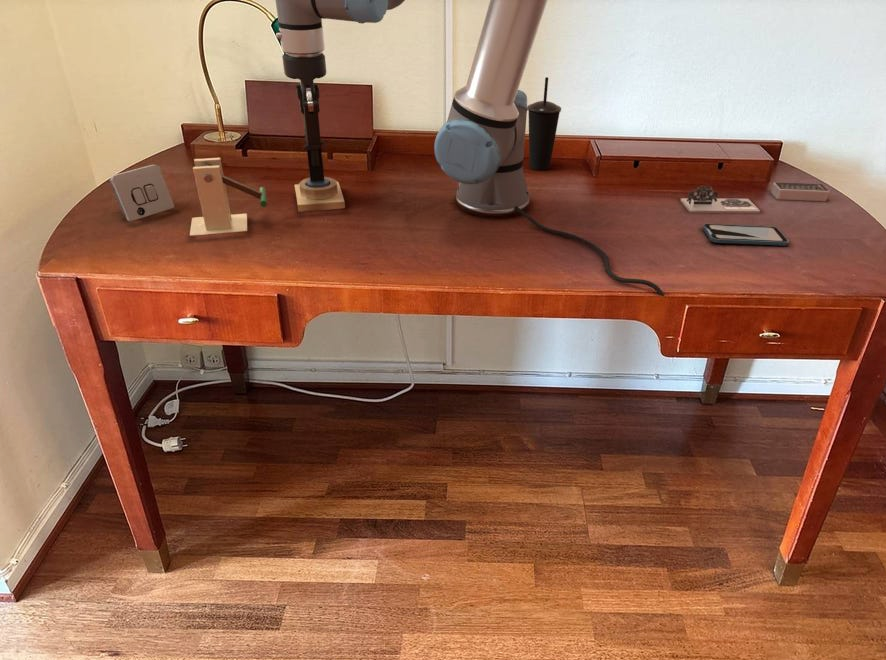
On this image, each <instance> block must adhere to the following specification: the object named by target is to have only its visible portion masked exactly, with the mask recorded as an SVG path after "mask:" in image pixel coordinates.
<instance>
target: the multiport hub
mask: <svg viewBox="0 0 886 660" xmlns="http://www.w3.org/2000/svg"><path fill="white" fill-rule="evenodd" d="M770 193H771V194H772V195H773V197H774V198H775V199H776V200H781V201H804V202H805V201H807V202H808V201H809V202H827V200H828V198H829V194H830V190H829V189H828V188H827V187H826V186H825V185H824V184H823V183H806V182H805V183H801V182H781V181H779V182H778V181H777V182H773V184H772V188H771V190H770Z"/></svg>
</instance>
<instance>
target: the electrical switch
mask: <svg viewBox="0 0 886 660" xmlns="http://www.w3.org/2000/svg"><path fill="white" fill-rule="evenodd" d="M108 181H109V184H110V186H111V188H112V191H113V194H114V196H115V198H116V201H117V203H118V206H119V208H120V211H121V213H122V215H123V216H125V219H126V221H129V222H133V221H136V220H140V219H142V218H146V217H148V216H149V217H150V216H152V215H155V214H158V213H161V212H164V211H169V210H171V209H173V208H175V204H174V201H173V199H172V196H171V194H170V191H169V189H168V186H167V183H166V180H165V178H164V175H163V172H162V170H161V167H160V165H157V164H149V165H147V166H142V167H139V168H135V169H132V170H131V169H130V170H127V171H123V172H120V173H116V174H113V175H111V176H110V179H109V180H108Z"/></svg>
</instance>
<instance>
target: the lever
mask: <svg viewBox="0 0 886 660" xmlns="http://www.w3.org/2000/svg"><path fill="white" fill-rule="evenodd" d="M202 166H212V165H210V164H208V163H206V162H203V164H202ZM223 175H224V174H223ZM223 175H222V180H223V183H224V184H225V185H226V186H229V187H231V188H234V189H236V190H237V191H238V190H239V191H240V192H242V193H245V194H247V195H250V196H252V197H254V198H256V199H259V204H260V206H261V207H263V208H266V207H267V205H268V199H267V198H268V197H267V189H266V187H264V186H260V187H259V189H258V190H257V189H255V188H253V187H251V186H248V185H246V184H244V183H242V182H240V181H237V180H235V179H232V178H230V177H228V176H226V175H224V176H223Z"/></svg>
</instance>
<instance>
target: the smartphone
mask: <svg viewBox="0 0 886 660" xmlns="http://www.w3.org/2000/svg"><path fill="white" fill-rule="evenodd" d="M702 230H703V231H704V233H705V234H706V236H707V237H708V239H709V240H710V241H711V242H712V243H718V244H719V243H720V244H739V245H741V244H742V245H761V246H763V245H765V246H783V247H784V246H788V245H789V242H790V241H789V239H788V238H787V237H786V236H785V235H784V233H783V232H782V231H781V230H780V229H779V227H776V226H771V225H752V224H751V225H748V224H728V223H727V224H725V223H703V224H702Z"/></svg>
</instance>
